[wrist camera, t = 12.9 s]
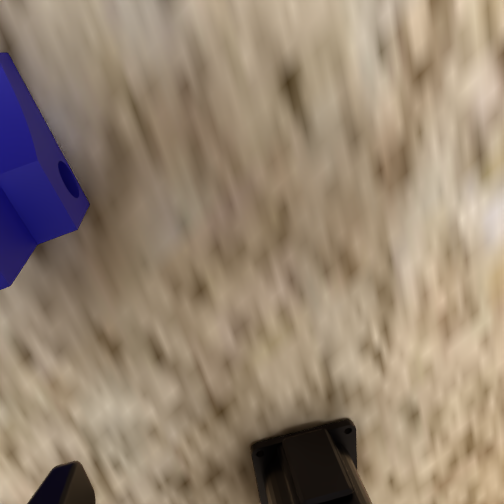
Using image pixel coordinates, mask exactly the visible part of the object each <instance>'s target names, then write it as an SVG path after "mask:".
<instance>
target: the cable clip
mask: <svg viewBox="0 0 504 504" xmlns="http://www.w3.org/2000/svg"><path fill="white" fill-rule="evenodd" d="M89 205H90V204H89V202H88V200H87V198H86V196H85V194H84V193H83V191H82V189H81V187H80V185H79V183H78V181H77V180H76V178H75V176H74V174H73V172H72V170H71V168H70V167H69V165H68V163H67V161H66V159H65V157H64V156H63V154H62V152H61V150H60V148H59V146H58V144H57V143H56V141H55V139H54V137H53V135H52V133H51V131H50V130H49V128H48V126H47V124H46V122H45V120H44V119H43V117H42V115H41V113H40V111H39V109H38V107H37V106H36V104H35V102H34V100H33V98H32V96H31V94H30V93H29V91H28V89H27V87H26V85H25V83H24V81H23V80H22V78H21V76H20V74H19V72H18V70H17V69H16V67H15V65H14V63H13V61H12V59H11V57H10V56H9V54H8V53H0V290H1V289H4V288H6V287H9V286H11V284H12V283H13V281H14V280H15V278H16V277H17V275H18V274H19V272H20V271H21V269H22V268H23V266H24V265H25V263H26V261H27V260H28V258H29V257H30V255H31V254H32V252H33V251H34V249H35V248H36V246H37V245H38V244H40V243H43V242H46V241H48V240H51V239H54V238H57V237H59V236H62V235H65V234H67V233H70V232H73V231H75V230H78V228H79V226H80V224H81V221H82V219H83V217H84V215H85V213H86V211H87V209H88V207H89Z"/></svg>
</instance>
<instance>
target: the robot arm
mask: <svg viewBox="0 0 504 504" xmlns="http://www.w3.org/2000/svg"><path fill="white" fill-rule="evenodd" d="M251 454H252V460H253V465H254V470H255V475H256V480H257V486H258V491H259V496H260V501H261V504H372V502H371V500H370V498H369V496H368V493H367V491H366V489H365V487H364V485H363V483H362V481H361V478H360V476H359V474H358V472H357V451H356V428H355V425H354V423H353V422H352V421H351V420H344V421H340V422H336V423H332V424H328V425H324V426H320V427H316V428H312V429H309V430H305V431H301V432H297V433H293V434H289V435H285V436H281V437H277V438H273V439H269V440H265V441H262V442H258V443H255V444H254V445H252V447H251ZM27 504H95V493H94V489H93V487H92V485H91V483H90V481H89V478H88V476H87V474H86V472H85V470H84V468H83V466H82V464H81V463H80V462H78V461H73V462H69V463H65V464H61V465H58V466H56V467H54V468H53V469H52V470H51V471H50V473H49V474H48V476H47V477H46V478H45V480H44V481H43V483H42V484H41V485H40V487H39V488H38V489H37V491H36V492H35V494H34V495H33V496H32V498H31V499H30V501H29V502H28V503H27Z"/></svg>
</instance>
